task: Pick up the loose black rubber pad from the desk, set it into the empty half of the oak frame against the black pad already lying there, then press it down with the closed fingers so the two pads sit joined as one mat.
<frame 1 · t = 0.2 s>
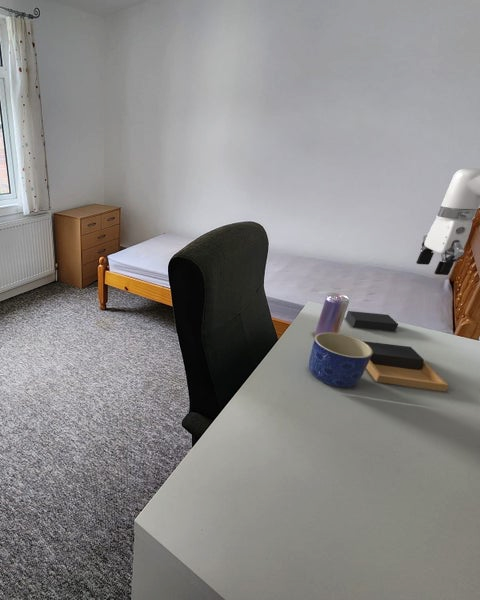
hand: (431, 269, 106), 22 cm above the table, tool pointing down, fingers open, 9 cm apart
frame: (393, 369, 96), on the table
loose pad: (368, 325, 118), on the table
planter: (330, 378, 94), on the table
beverage can: (324, 338, 112), on the table
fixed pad: (387, 360, 99), resting on frame
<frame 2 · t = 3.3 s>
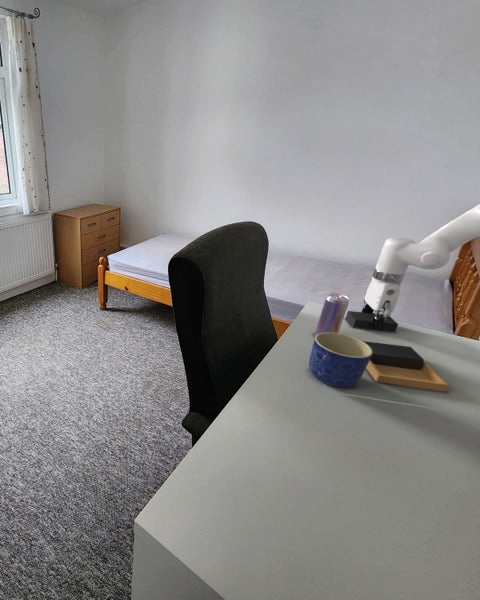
hand: (369, 323, 118), 1 cm above the table, tool pointing down, fingers closed on loose pad, 7 cm apart
loose pad: (368, 325, 118), on the table, touching gripper
everything else where it was.
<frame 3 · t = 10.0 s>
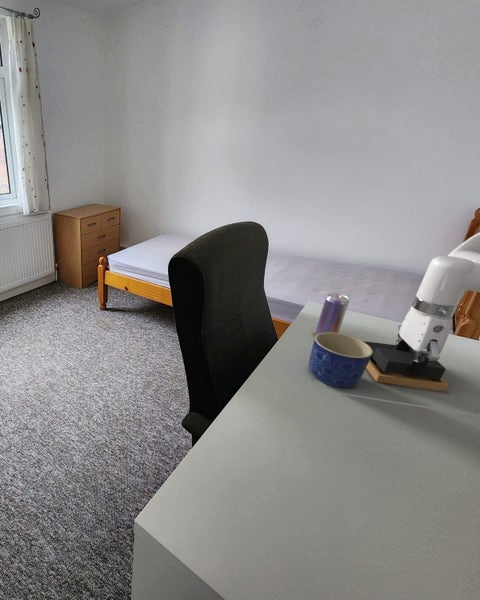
hand: (406, 365, 91), 4 cm above the table, tool pointing down, fingers closed on loose pad, 7 cm apart
loose pad: (404, 368, 92), point 3 cm above the table, touching gripper
everything else where it was.
when the fingers open (4 cm above the table, at t = 15.9 s): loose pad drops 3 cm, resting on frame.
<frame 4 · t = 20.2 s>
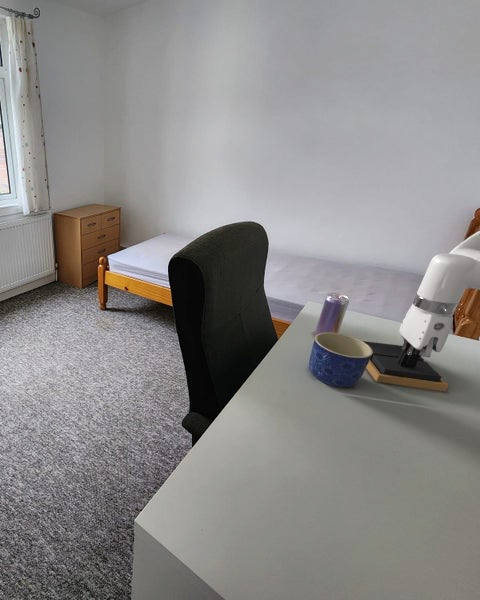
hand: (405, 365, 91), 4 cm above the table, tool pointing down, fingers closed
loose pad: (401, 375, 93), resting on frame, touching gripper
everything else where it was.
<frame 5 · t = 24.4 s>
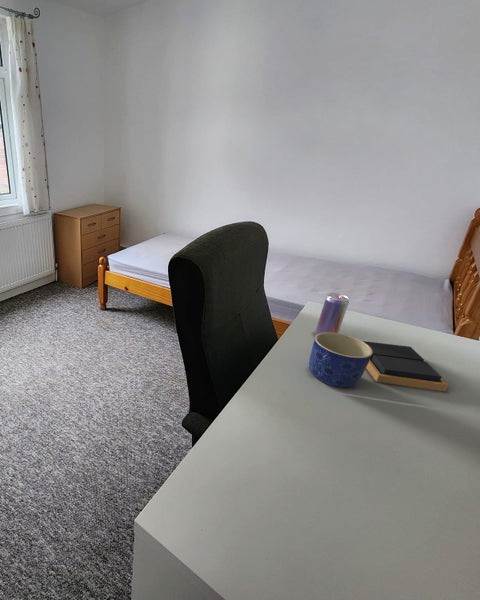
loose pad: (401, 375, 93), resting on frame
everything else where it was.
at the end: loose pad 0.0 cm from the target spot in the frame, point 0.5 cm above the frame's base; loose pad 7.7 cm from the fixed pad (horizontally); loose pad tilted 0° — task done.
